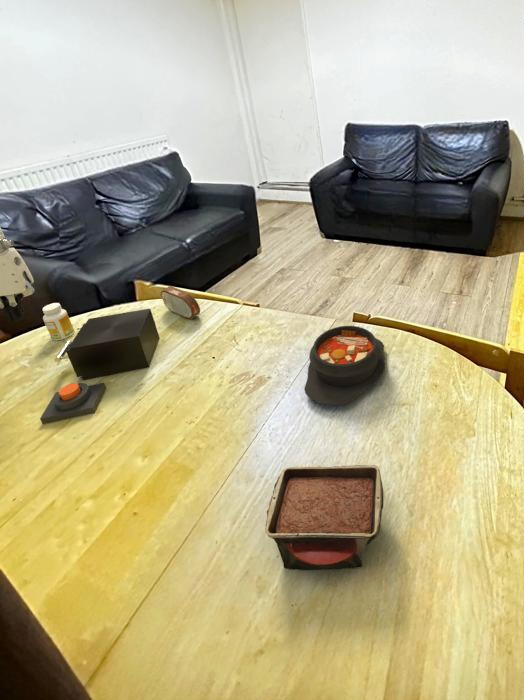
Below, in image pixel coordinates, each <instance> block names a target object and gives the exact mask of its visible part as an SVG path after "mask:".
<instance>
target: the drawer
mask: <svg viewBox="0 0 524 700" xmlns="http://www.w3.org/2000/svg"><path fill="white" fill-rule="evenodd" d="M85 324H86V323H83V325H82V326H81V328H80V329H79V330H78V332H77V334H76V335H75V336H74V338H73V339H72V340H66V341H65V343H64V344H63V346H62V347H61V349H60V350H59V352H58V353H57V354H56V356H55V357H54V362H55V363H60V362H62V361H63V360H67V359H68V360H69V362H70V364H71V366H72V368H73V371H74V374H75V375H76V377H77V378H79V377H81V374H80V372H79V370H78V367H77V365H76V363H75V360H74V358H73V356H72V354H71V351H70V349H69V348H70V347H71V345H72V344H73V342H74V341H75V339H76V338H77V336H78V334H79V333H80V331H81V330H82V328H83V327H84V325H85ZM81 378H82V377H81Z"/></svg>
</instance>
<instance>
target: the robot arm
mask: <svg viewBox="0 0 524 700" xmlns="http://www.w3.org/2000/svg"><path fill="white" fill-rule="evenodd" d="M14 246H15V242H14V240H13V239H7V237H6V236H5V235H4V232H3V229H2V227H1V226H0V309H1V310H2V312H3V314H4V315H5V318H6V319H7V320H8V322H9V323H14V322H15V323H17V322H18V323H19V322H20V321H21V320H22V318H23V317H24V316H25V314H26V311H25V309H24V306H23V305H22V302H21V301H22V300H23V298H25V297H28V296H31V295H33V294H34V293H35V292H36V289H35V288H34V287H33V286H32V285H33V284H34V283H35V280H34V276H33V275H32V273H31V271H30V269H29V267H28V265H27V263H26V262H25V260H24V259H23V257H22V256H21V254H20V253H19V252H18V251H17V249H15V247H14Z"/></svg>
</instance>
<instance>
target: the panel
mask: <svg viewBox="0 0 524 700" xmlns="http://www.w3.org/2000/svg"><path fill="white" fill-rule="evenodd" d="M76 384H78V385H79V388H80V390H81V393H80V394H79V395H78V396H77V397H75V398H73V399H71V400H67V401H63V400H62V399H61V397H60V395H59V391H55V392H54V394H53V396H52V398H51V399H50V401H49V403H48V404H47V406H46V407H45V410H43V413H42V414H41V416H40V418H39V420H40V422H41V424H42V425H45V424H50V423H55V422H60V421H64V420H69V419H70V420H71V419H74V418H78V417H83V416H87V415H88V416H89V415H92V414H95V413H96V411H97V410H98V406H99V405H100V403H101V400H102V398H103V396H104V394H105V391H106V389H107V385H106V384H105V382H100V383H95V384H90V385H88V384H87V383H83V382H78V383H76Z"/></svg>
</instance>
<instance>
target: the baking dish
mask: <svg viewBox="0 0 524 700" xmlns="http://www.w3.org/2000/svg"><path fill="white" fill-rule="evenodd" d="M381 475H382V474H381V470H380V469H379V467H378V466H377V465H374V464H373V465H367V464H366V465H365V464H364V465H363V464H362V465H361V464H359V465H357V464H356V465H334V466H333V465H332V466H289V467H288V466H287V467H285V468H284V469H283V470H282V471H281V473H280V474H279V476H278V477H277V479H276V482H275V483H274V486H273V491H272V495H271V497H270V501H269V505H268V508H267V510H266V522H265V528H264V529H265V534H266V536H267V537H268V538H271V539H273V541H274V542H275V543H276V546H277V548H278V552H279V554H280V558H281V560H282V561H281V562H282V563H283V569H288V570H294V569H299V570H298V571H326V570H327V571H328V570H329V571H330V570H331V571H332V570H333V571H334V570H347V569H348V570H349V569H358V568H362V567H363V562H362V558H363V554H364V552H365V549H366V547H368V545H369V544H371V543H372V542H373V540H375V539H376V538H377V537H378V535H379V534H380V532H381V526H382V525H381V524H382V515H383V514H382V513H383V509H384V486H383V480H382V476H381Z"/></svg>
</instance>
